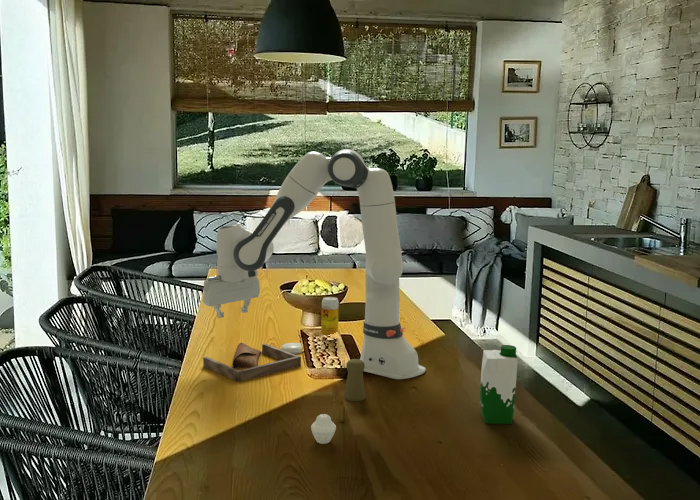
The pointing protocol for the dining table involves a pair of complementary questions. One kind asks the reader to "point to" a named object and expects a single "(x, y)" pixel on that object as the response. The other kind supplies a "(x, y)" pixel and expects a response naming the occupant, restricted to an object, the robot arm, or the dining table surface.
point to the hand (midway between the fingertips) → (232, 314)
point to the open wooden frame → (285, 363)
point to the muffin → (323, 429)
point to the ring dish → (292, 348)
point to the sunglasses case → (245, 356)
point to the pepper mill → (355, 380)
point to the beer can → (329, 315)
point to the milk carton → (498, 385)
